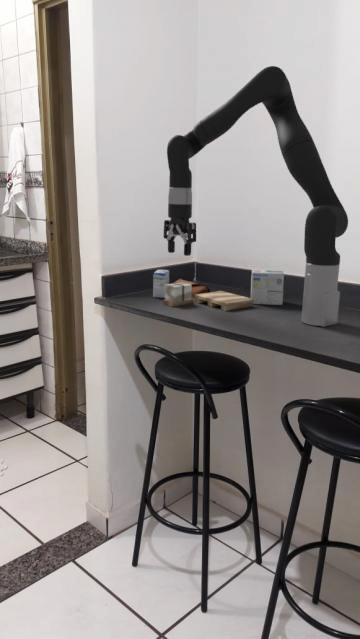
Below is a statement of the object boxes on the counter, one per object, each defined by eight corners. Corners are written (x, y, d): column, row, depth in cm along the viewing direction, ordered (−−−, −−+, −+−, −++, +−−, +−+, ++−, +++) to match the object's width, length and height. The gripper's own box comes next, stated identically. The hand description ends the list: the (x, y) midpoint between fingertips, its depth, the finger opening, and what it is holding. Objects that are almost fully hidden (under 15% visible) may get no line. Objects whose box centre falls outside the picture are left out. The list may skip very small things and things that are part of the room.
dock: (253, 306, 168) (253, 299, 167) (226, 311, 161) (226, 303, 160) (220, 297, 180) (221, 290, 180) (194, 301, 173) (194, 294, 173)
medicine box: (156, 292, 187) (157, 269, 185) (169, 293, 186) (169, 269, 184) (152, 297, 179) (152, 272, 177) (165, 297, 179) (165, 273, 177)
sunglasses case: (161, 289, 194) (169, 273, 194) (174, 296, 198) (181, 280, 199) (192, 297, 180) (200, 280, 181) (205, 305, 185) (212, 288, 185)
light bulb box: (281, 301, 177) (283, 270, 174) (282, 305, 171) (285, 273, 168) (249, 300, 178) (251, 269, 175) (250, 304, 172) (252, 272, 169)
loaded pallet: (193, 303, 171) (194, 284, 170) (172, 307, 166) (172, 287, 164) (183, 300, 175) (184, 282, 173) (162, 304, 170) (162, 284, 168)
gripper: (203, 203, 159) (202, 255, 163) (176, 201, 170) (175, 250, 174) (184, 203, 155) (183, 257, 159) (157, 201, 166) (157, 252, 170)
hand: (179, 254), depth 166 cm, fingers open, 8 cm apart
